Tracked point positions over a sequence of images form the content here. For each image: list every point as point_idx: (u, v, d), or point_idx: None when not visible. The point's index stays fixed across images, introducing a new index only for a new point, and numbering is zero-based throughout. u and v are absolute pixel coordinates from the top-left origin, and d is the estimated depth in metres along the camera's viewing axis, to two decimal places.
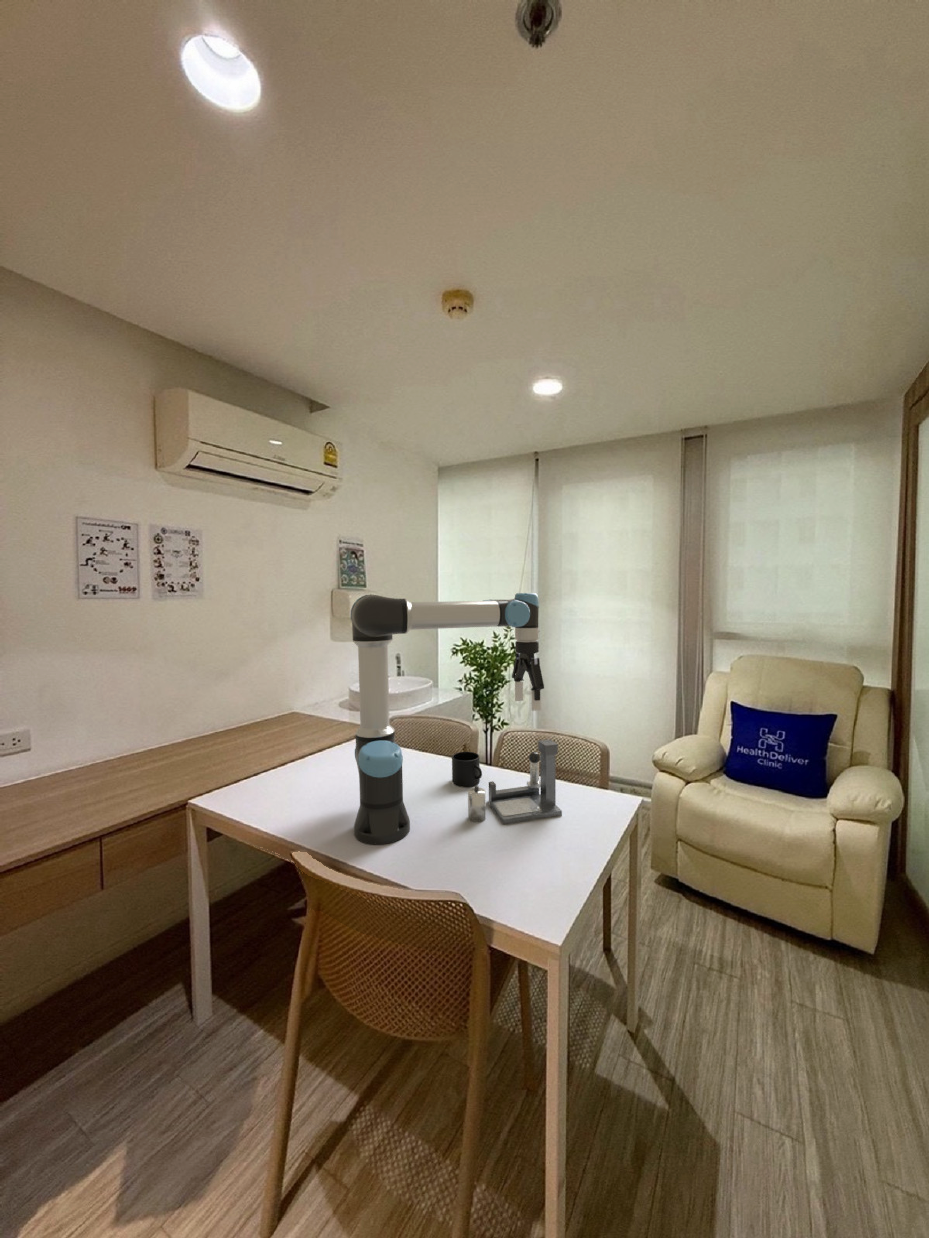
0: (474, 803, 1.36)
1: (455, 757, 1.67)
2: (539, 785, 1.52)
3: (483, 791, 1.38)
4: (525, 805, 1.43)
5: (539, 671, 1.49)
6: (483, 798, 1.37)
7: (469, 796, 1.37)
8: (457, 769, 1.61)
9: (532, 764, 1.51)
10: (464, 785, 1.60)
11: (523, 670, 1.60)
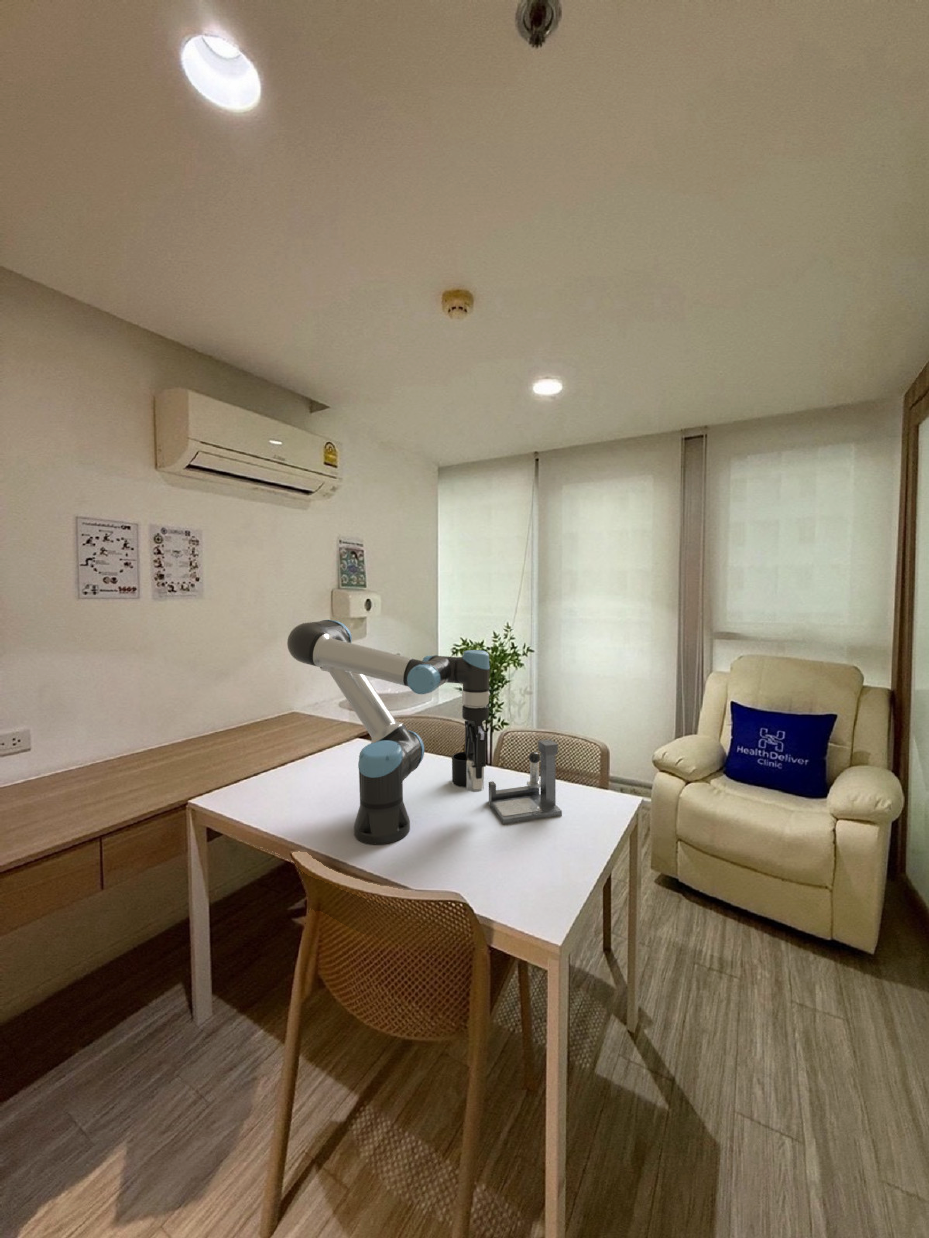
0: None
1: (455, 757, 1.67)
2: (539, 785, 1.52)
3: None
4: (525, 805, 1.43)
5: (484, 748, 1.32)
6: None
7: (467, 766, 1.37)
8: (457, 769, 1.61)
9: (532, 764, 1.51)
10: (464, 785, 1.60)
11: None
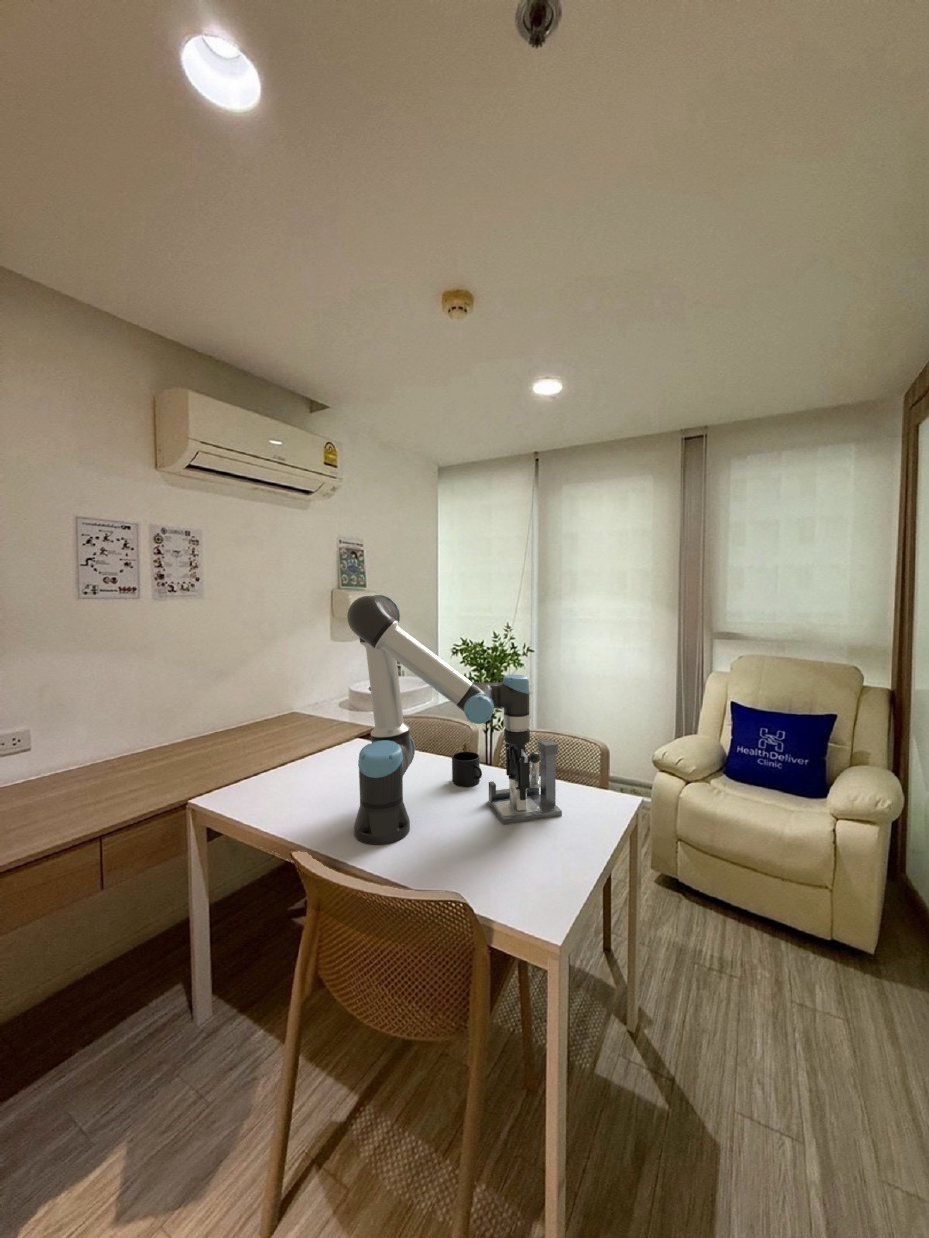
0: (516, 791, 1.39)
1: (455, 757, 1.67)
2: (539, 785, 1.52)
3: None
4: None
5: (527, 770, 1.36)
6: None
7: (510, 784, 1.41)
8: (457, 769, 1.61)
9: (532, 764, 1.51)
10: (464, 785, 1.60)
11: None
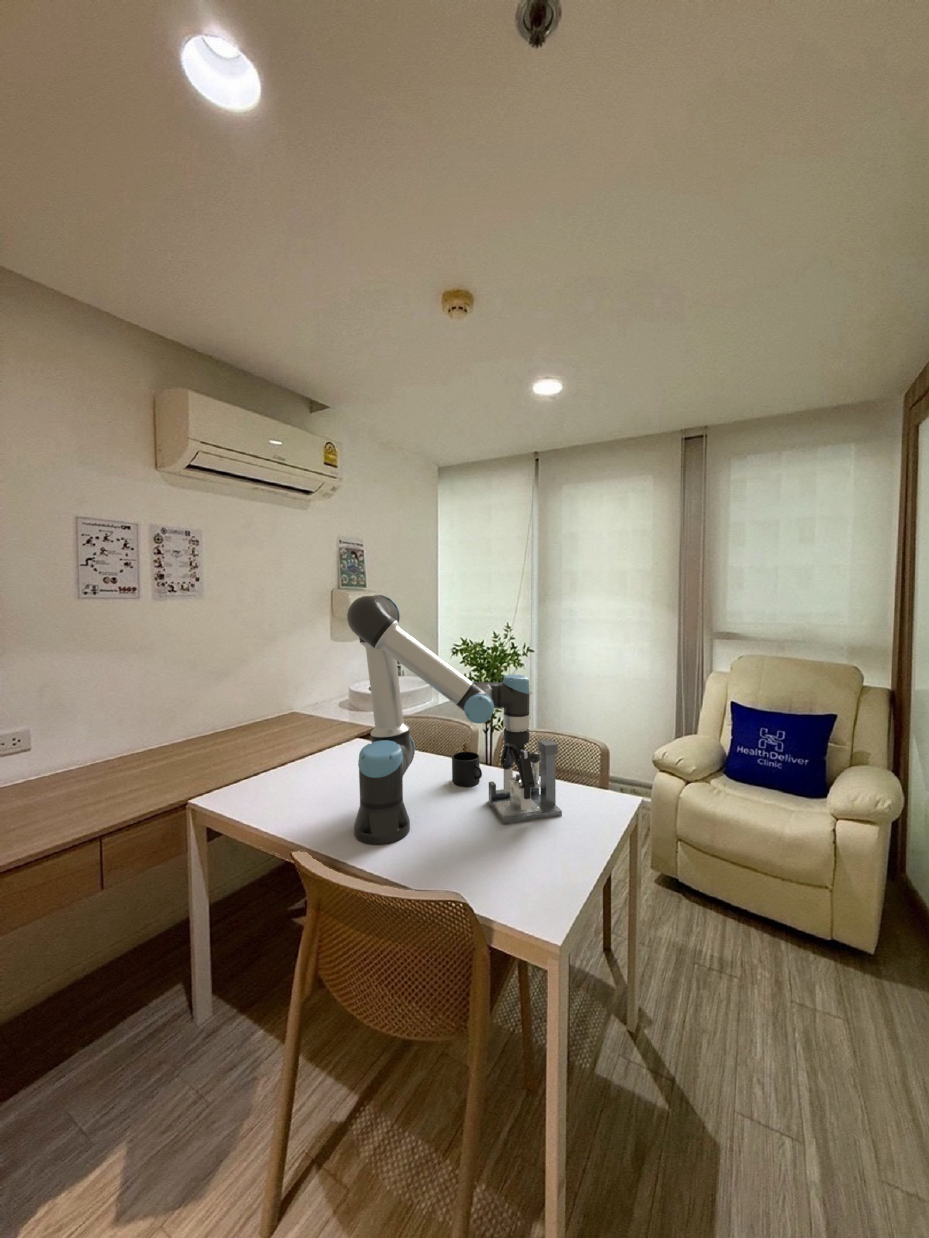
0: (517, 791, 1.39)
1: (455, 757, 1.67)
2: (539, 785, 1.52)
3: None
4: None
5: (529, 767, 1.34)
6: None
7: (510, 785, 1.41)
8: (457, 769, 1.61)
9: (532, 764, 1.51)
10: (464, 785, 1.60)
11: (512, 758, 1.45)
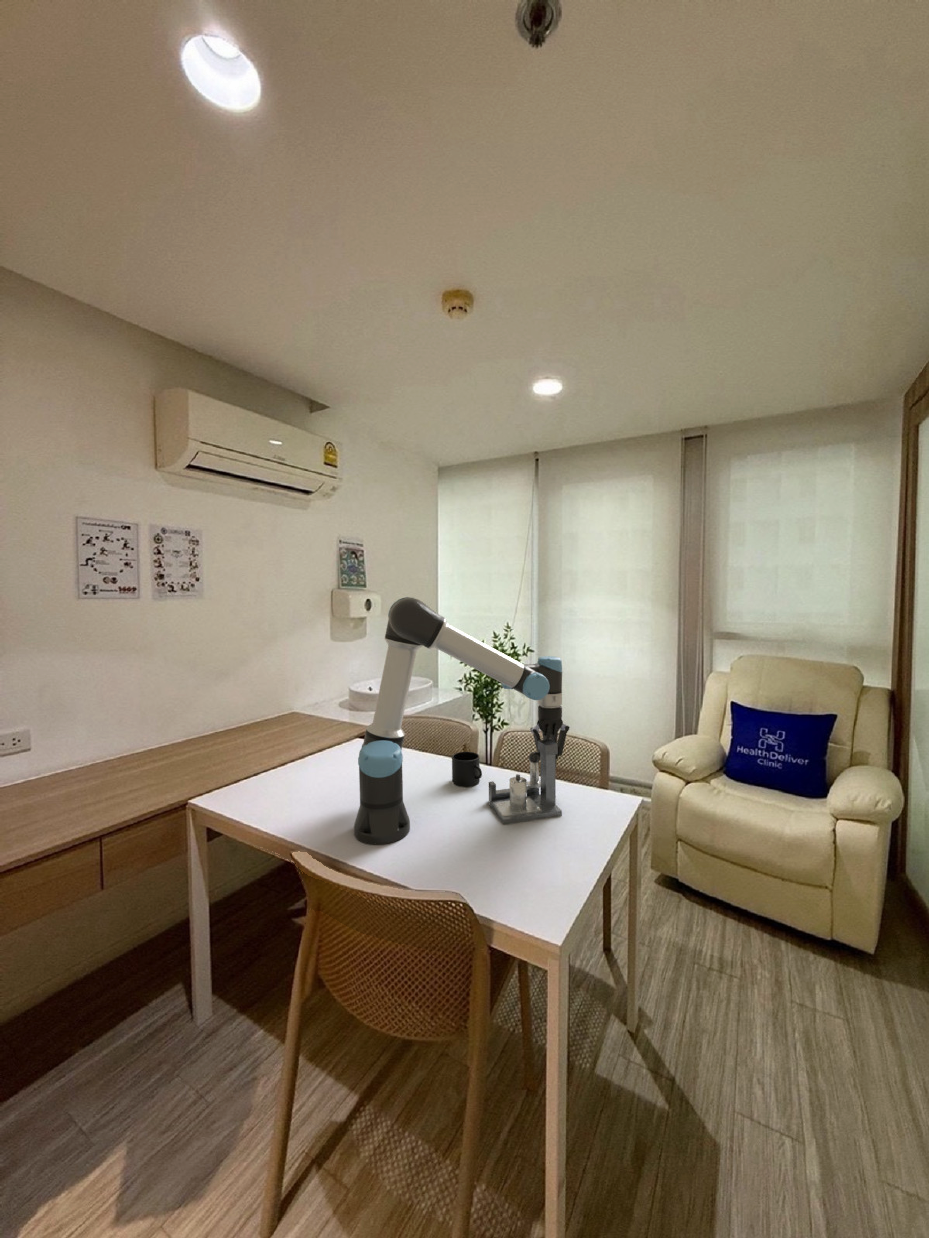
0: (517, 791, 1.39)
1: (455, 757, 1.67)
2: (539, 785, 1.52)
3: (524, 780, 1.41)
4: None
5: (537, 742, 1.51)
6: (525, 787, 1.40)
7: (510, 785, 1.41)
8: (457, 769, 1.61)
9: (532, 764, 1.51)
10: (464, 785, 1.60)
11: (552, 739, 1.53)
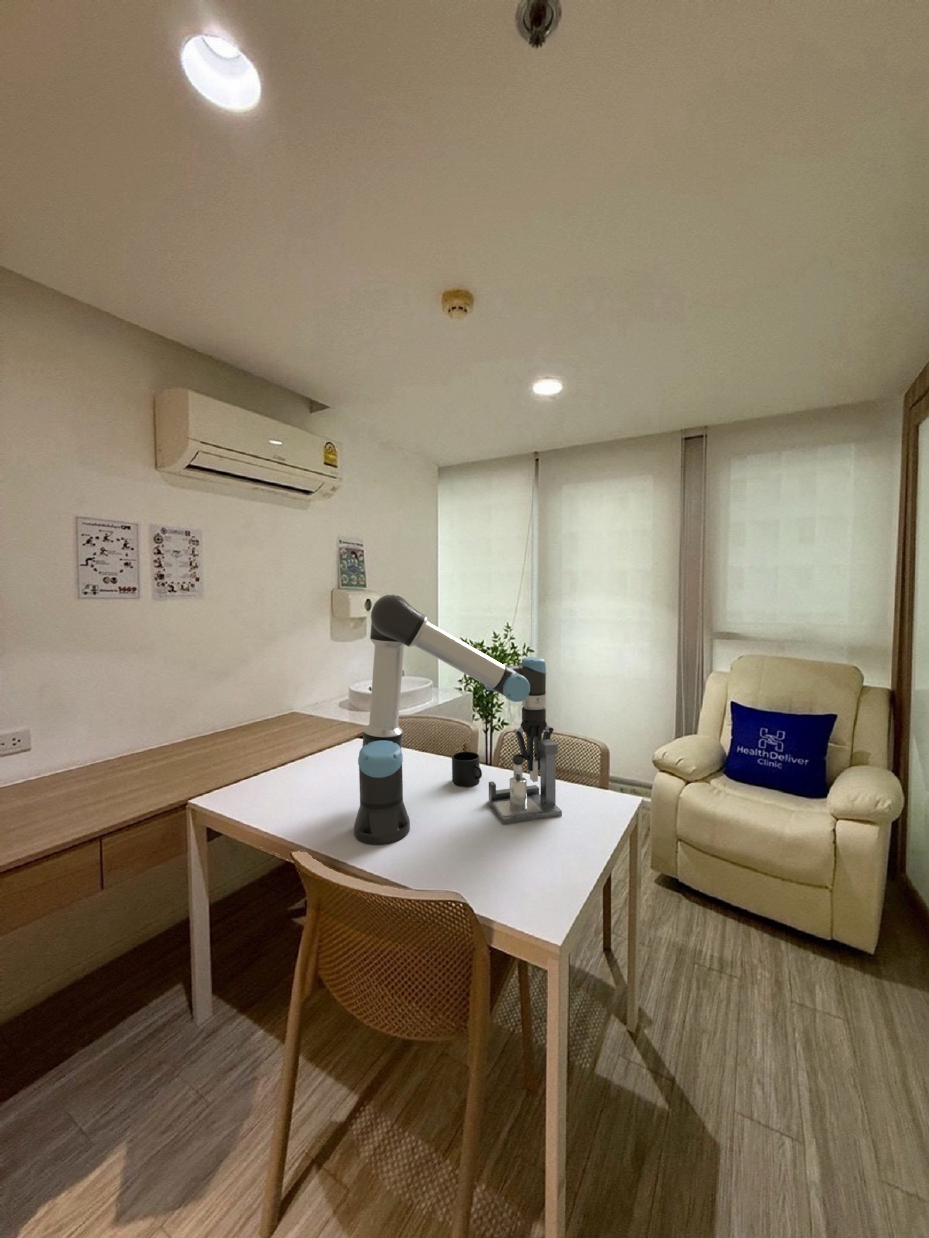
0: (517, 791, 1.39)
1: (455, 757, 1.67)
2: None
3: (524, 780, 1.41)
4: None
5: (520, 744, 1.50)
6: (525, 787, 1.40)
7: (510, 785, 1.41)
8: (457, 769, 1.61)
9: (515, 766, 1.50)
10: (464, 785, 1.60)
11: (536, 741, 1.52)
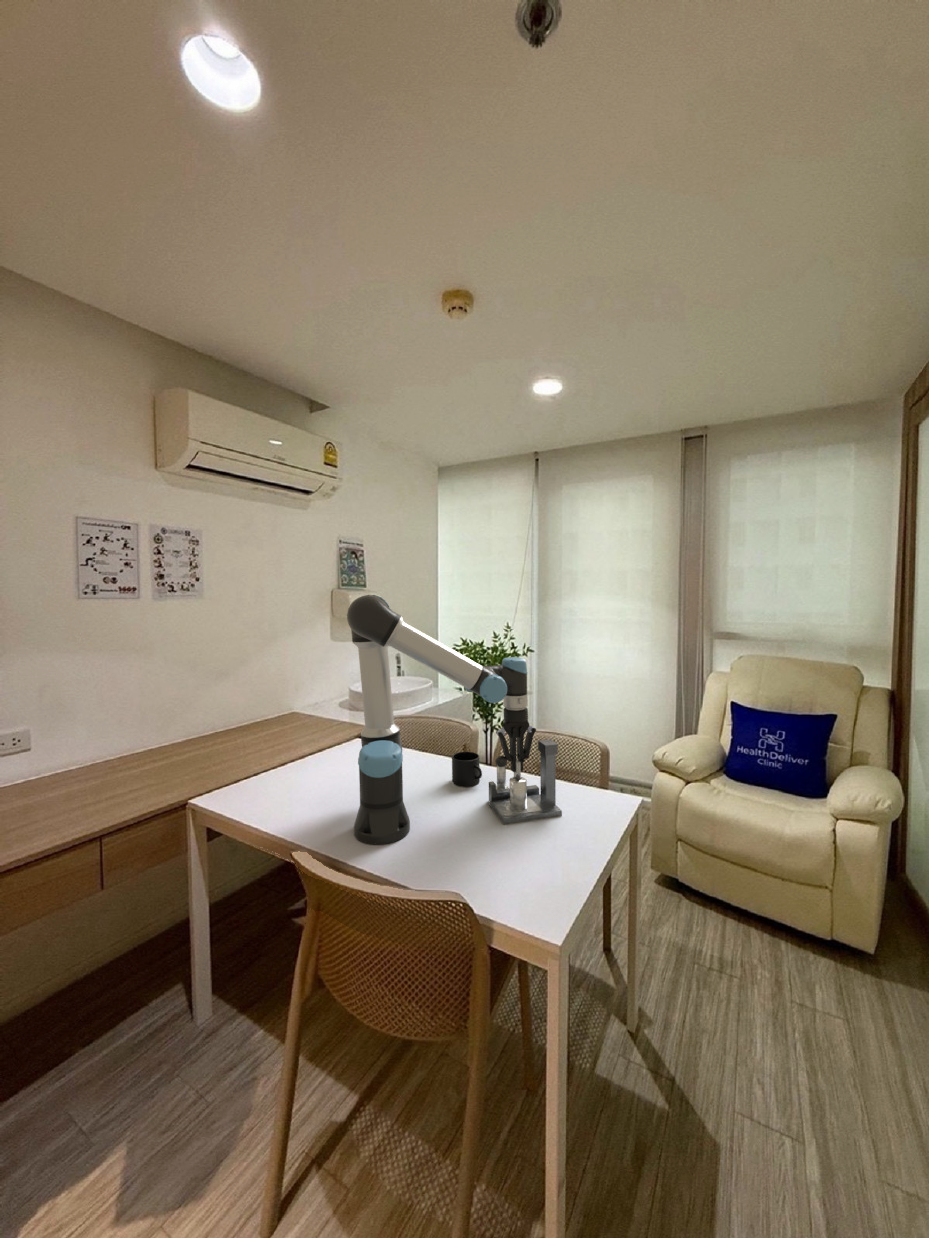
0: (517, 791, 1.39)
1: (455, 757, 1.67)
2: (506, 790, 1.48)
3: (524, 780, 1.41)
4: None
5: (503, 745, 1.48)
6: (525, 787, 1.40)
7: (510, 785, 1.41)
8: (457, 769, 1.61)
9: (498, 768, 1.48)
10: (464, 785, 1.60)
11: (518, 742, 1.50)
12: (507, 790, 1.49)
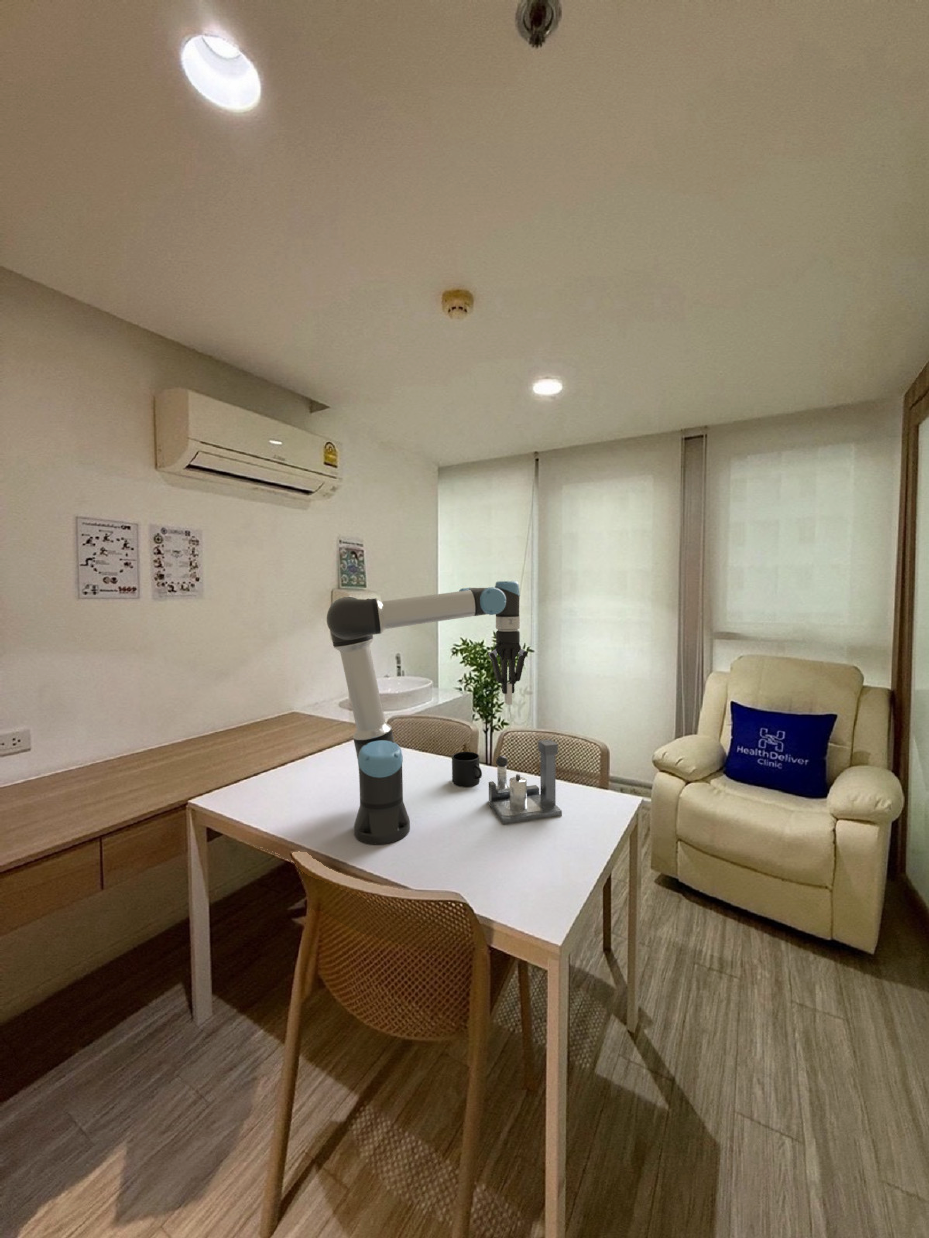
0: (517, 791, 1.39)
1: (455, 757, 1.67)
2: (506, 789, 1.48)
3: (524, 780, 1.41)
4: None
5: (494, 666, 1.51)
6: (525, 787, 1.40)
7: (510, 785, 1.41)
8: (457, 769, 1.61)
9: (499, 768, 1.48)
10: (464, 785, 1.60)
11: (510, 664, 1.53)
12: (508, 790, 1.49)
